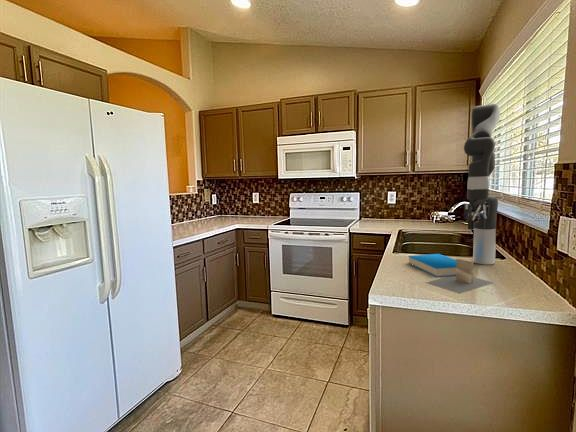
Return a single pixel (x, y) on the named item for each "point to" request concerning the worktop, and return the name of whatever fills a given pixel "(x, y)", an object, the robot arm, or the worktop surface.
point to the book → (434, 264)
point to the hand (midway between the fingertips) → (476, 228)
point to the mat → (458, 284)
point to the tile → (464, 270)
